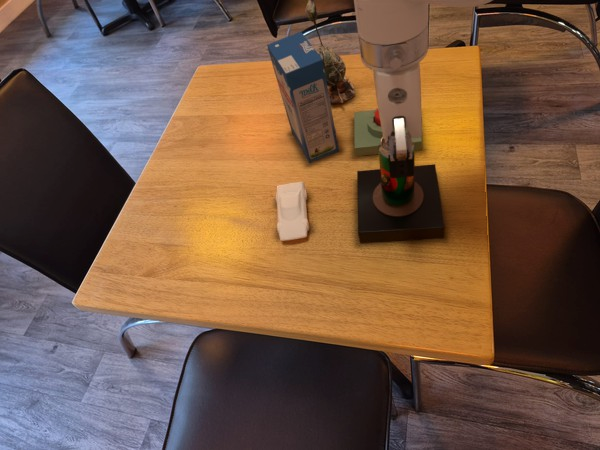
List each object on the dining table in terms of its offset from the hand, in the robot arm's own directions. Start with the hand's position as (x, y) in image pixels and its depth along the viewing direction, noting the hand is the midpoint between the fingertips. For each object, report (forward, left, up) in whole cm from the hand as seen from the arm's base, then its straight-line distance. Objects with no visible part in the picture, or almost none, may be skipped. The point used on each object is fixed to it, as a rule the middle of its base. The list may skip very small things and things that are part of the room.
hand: (399, 150), depth 62 cm
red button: (+2, -18, -10) cm, 21 cm away
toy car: (+18, 0, -14) cm, 23 cm away
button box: (+2, -18, -14) cm, 23 cm away
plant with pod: (+12, -32, -14) cm, 37 cm away
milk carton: (+16, -18, -14) cm, 28 cm away
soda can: (0, 0, -11) cm, 10 cm away
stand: (+1, 0, -14) cm, 14 cm away
